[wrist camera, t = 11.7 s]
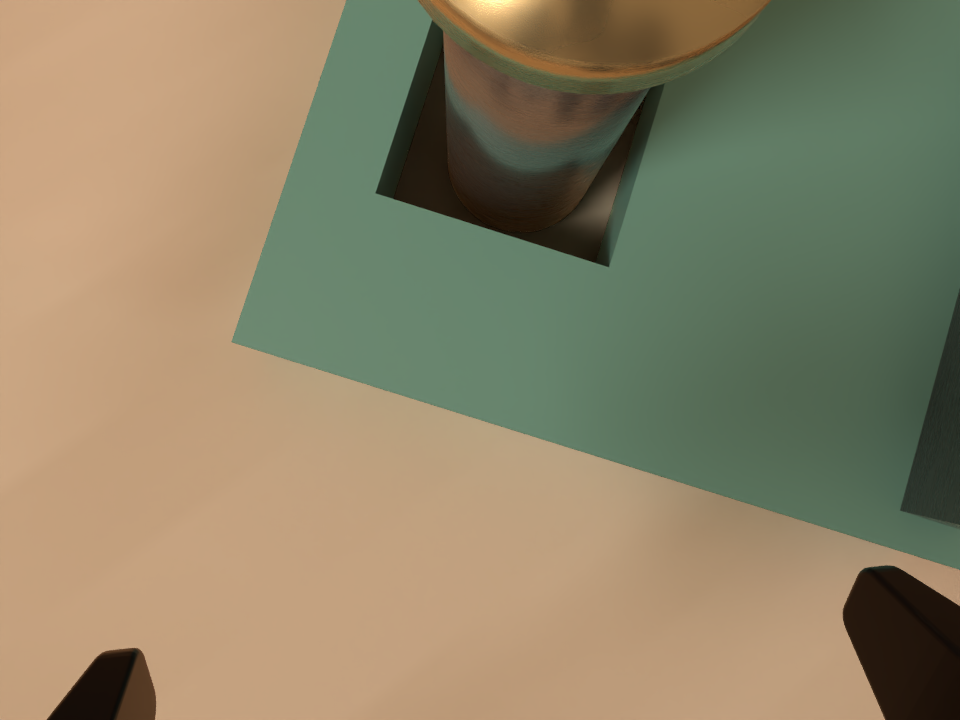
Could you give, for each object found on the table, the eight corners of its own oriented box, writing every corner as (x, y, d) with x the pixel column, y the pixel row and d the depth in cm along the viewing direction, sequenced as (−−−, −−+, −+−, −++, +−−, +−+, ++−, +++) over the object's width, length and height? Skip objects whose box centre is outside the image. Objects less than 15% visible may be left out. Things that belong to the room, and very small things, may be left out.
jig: (1033, 56, 23) (1205, -47, 18) (900, 550, 22) (1042, 596, 17) (425, -141, 23) (416, -307, 18) (261, 350, 22) (199, 333, 17)
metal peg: (658, 153, 23) (924, -175, 10) (529, 299, 22) (630, 158, 9) (510, 25, 23) (582, -468, 10) (380, 168, 23) (276, -151, 10)
